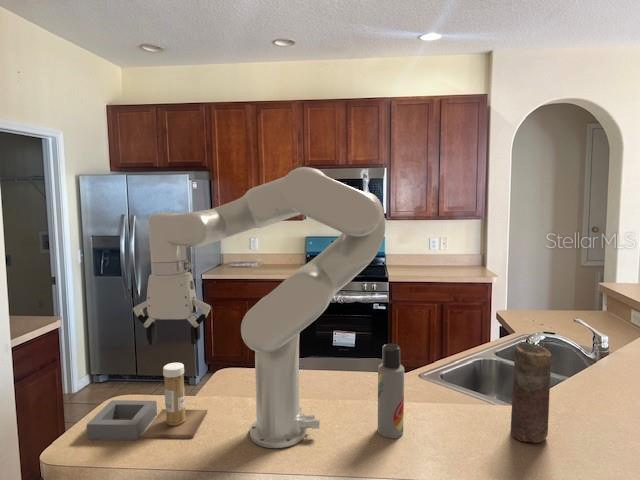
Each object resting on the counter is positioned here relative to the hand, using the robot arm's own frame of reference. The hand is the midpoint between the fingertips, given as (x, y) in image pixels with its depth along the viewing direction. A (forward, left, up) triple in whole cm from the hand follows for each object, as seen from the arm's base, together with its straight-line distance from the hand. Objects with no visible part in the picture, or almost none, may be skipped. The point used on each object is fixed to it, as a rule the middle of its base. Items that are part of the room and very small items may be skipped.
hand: (174, 342), depth 101 cm
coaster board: (0, 0, -20) cm, 20 cm away
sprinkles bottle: (0, 0, -19) cm, 19 cm away
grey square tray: (+12, +1, -20) cm, 23 cm away
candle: (-79, +3, -20) cm, 81 cm away
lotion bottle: (-49, +2, -20) cm, 53 cm away
